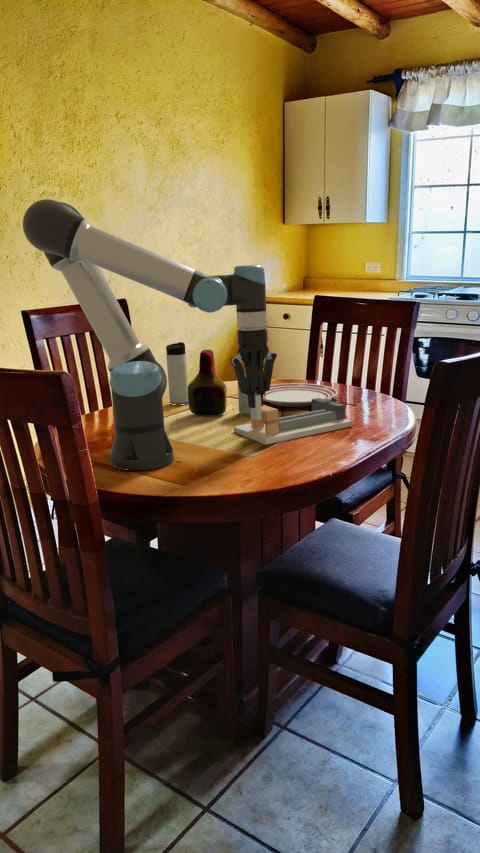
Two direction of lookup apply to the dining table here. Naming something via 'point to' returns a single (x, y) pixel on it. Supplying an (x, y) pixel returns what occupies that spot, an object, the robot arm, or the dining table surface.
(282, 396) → the dinner plate
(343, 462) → the dining table surface
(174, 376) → the travel mug
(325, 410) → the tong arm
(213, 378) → the bottle
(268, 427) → the tan wooden block
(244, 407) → the can
